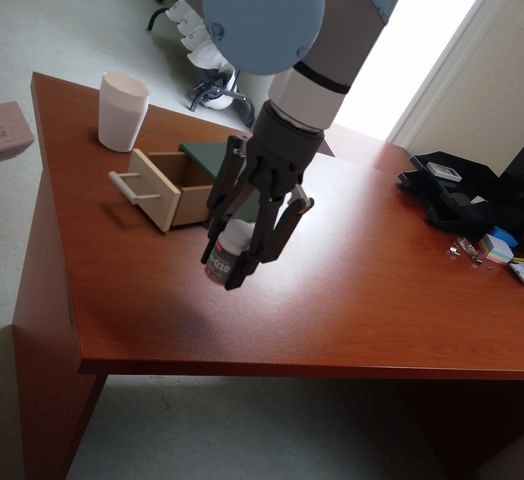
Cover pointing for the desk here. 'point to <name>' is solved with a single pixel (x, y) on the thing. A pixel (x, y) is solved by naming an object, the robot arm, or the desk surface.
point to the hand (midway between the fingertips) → (220, 274)
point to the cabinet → (210, 162)
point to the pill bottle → (228, 251)
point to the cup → (121, 110)
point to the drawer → (166, 187)
